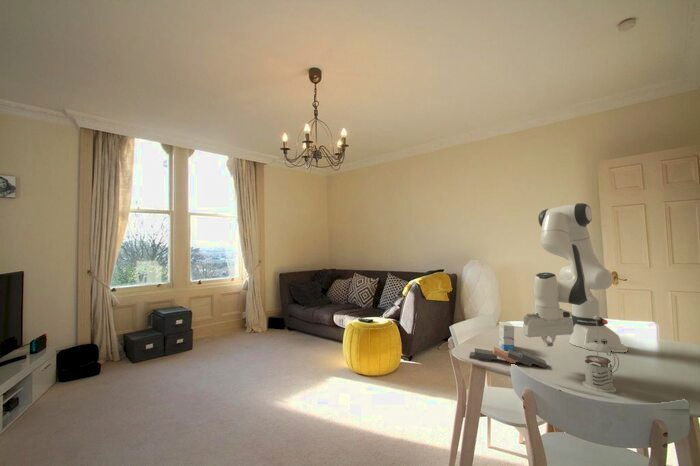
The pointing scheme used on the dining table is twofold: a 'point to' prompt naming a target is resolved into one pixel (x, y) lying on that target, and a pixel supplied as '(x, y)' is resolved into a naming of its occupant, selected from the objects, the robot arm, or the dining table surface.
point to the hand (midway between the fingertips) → (548, 346)
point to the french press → (599, 368)
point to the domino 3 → (502, 355)
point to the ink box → (506, 335)
